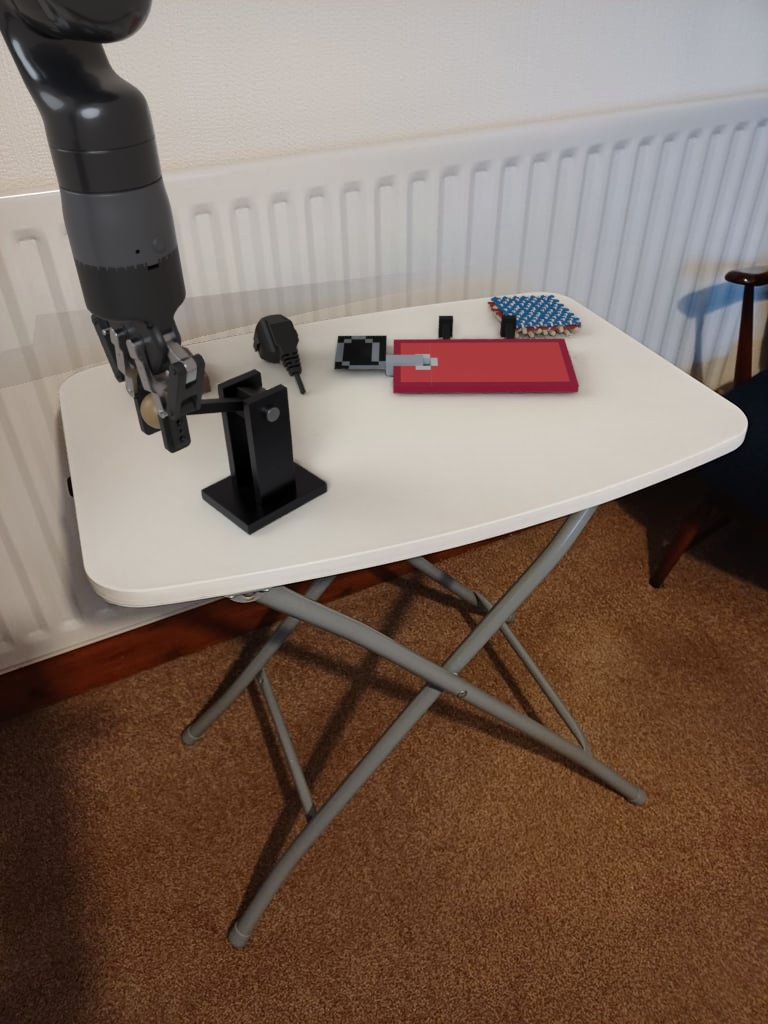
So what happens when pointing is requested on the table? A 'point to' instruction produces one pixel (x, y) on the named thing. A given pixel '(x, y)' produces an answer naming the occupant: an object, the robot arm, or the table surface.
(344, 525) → the table surface
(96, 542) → the table surface
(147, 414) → the switch lever
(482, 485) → the table surface
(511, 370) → the red board with handle
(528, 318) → the woven mat
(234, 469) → the switch bracket
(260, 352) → the power plug
